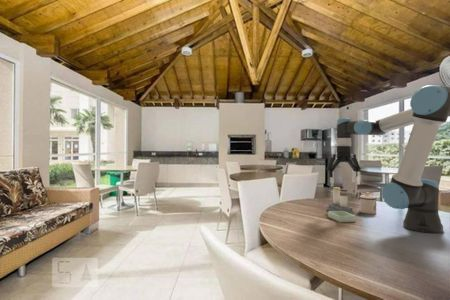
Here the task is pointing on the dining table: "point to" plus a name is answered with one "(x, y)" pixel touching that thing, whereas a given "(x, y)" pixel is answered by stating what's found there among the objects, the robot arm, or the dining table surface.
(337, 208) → the fuse block
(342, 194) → the cylinder
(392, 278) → the dining table surface
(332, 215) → the parts tray
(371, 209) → the teacup with lid
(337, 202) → the fuse
